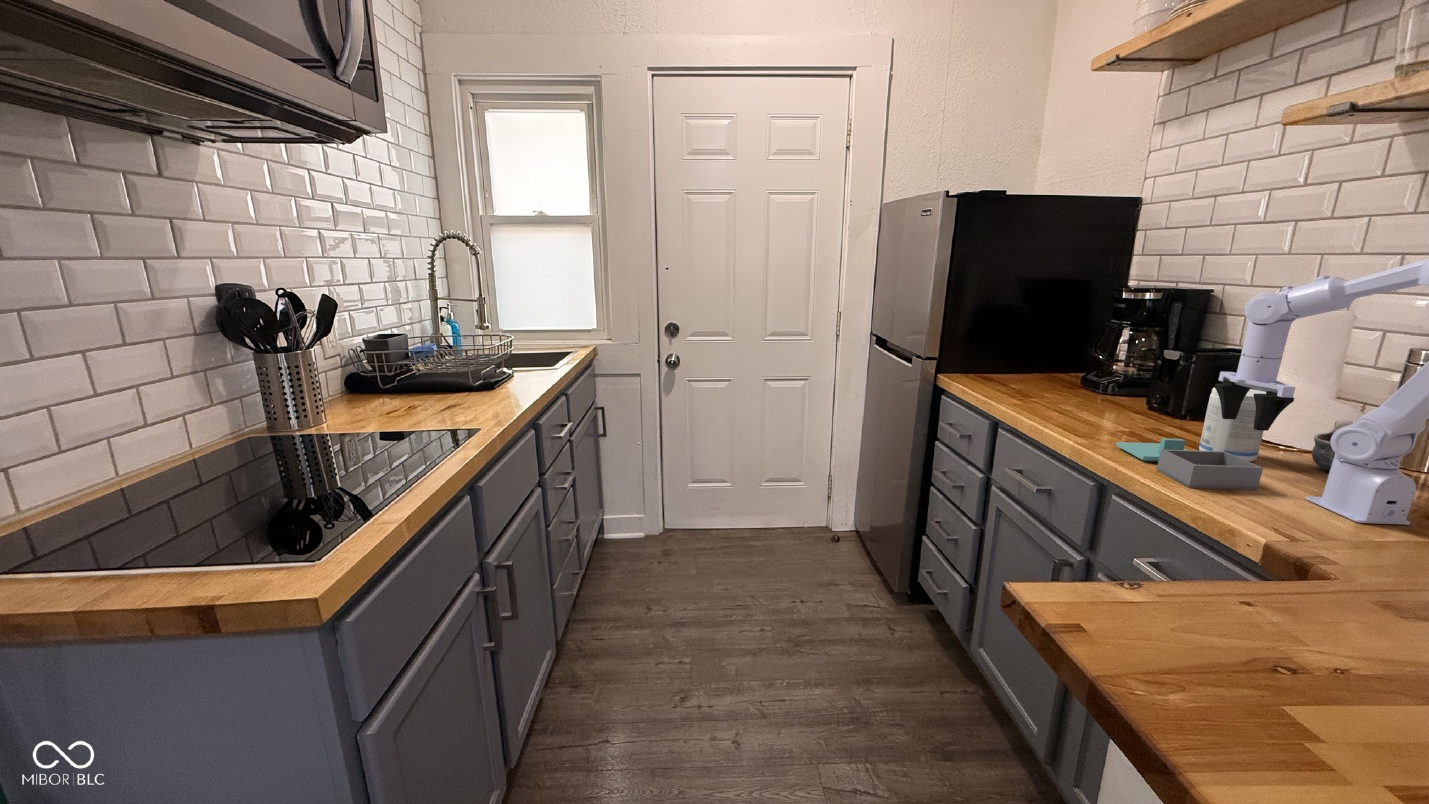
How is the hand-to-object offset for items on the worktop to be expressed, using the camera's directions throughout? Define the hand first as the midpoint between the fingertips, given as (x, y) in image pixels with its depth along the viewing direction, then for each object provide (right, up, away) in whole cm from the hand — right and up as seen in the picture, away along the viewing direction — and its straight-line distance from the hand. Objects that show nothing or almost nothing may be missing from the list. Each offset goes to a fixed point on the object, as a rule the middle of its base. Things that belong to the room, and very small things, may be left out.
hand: (1244, 424), depth 110 cm
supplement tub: (+8, -8, +12) cm, 16 cm away
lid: (-7, -8, +12) cm, 16 cm away
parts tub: (-9, -11, -1) cm, 14 cm away
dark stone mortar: (+23, -10, +4) cm, 25 cm away
